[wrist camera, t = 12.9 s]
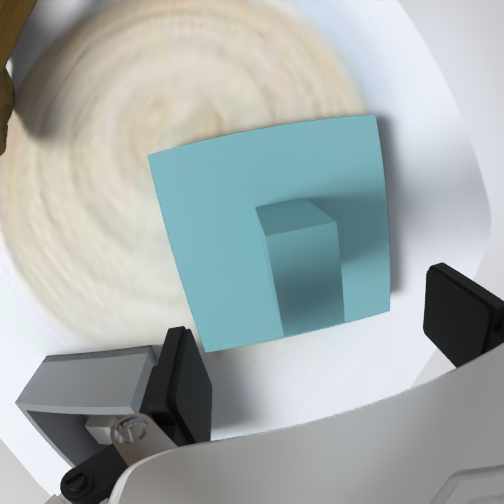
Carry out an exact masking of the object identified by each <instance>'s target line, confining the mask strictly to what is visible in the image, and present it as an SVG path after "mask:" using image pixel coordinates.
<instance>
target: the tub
mask: <svg viewBox="0 0 504 504" xmlns="http://www.w3.org/2000/svg"><path fill="white" fill-rule="evenodd" d="M154 365H158V360H157V358H156V356H155V354H154V352H153V349H152V347H151V345H150V346H143V347H135V348H127V349H119V350H110V351H101V352H92V353H81V354H70V355H57V356H46V358H45V359H44V361H43V362H42V363H41V365H40V366H39V368H38V369H37V371H36V372H35V373H34V375H33V376H32V378H31V379H30V381H29V382H28V384H27V385H26V387H25V388H24V390H23V391H22V393H21V394H20V396H19V397H18V399H17V401H16V402H15V403H16V405H17V406H18V407H19V408H20V410H21V411H22V412H23V414H24V415H25V416H26V417H27V419H28V420H29V421H30V422H31V424H32V425H33V426H34V427H35V428H36V430H37V431H38V432H39V433H40V434H41V435H42V437H43V438H44V439H45V440H46V441H47V442H48V443H49V444H50V445H51V447H52V448H53V449H54V450H55V451H56V452H57V453H58V454H59V455H60V456H61V457H62V458H63V459H64V460H65V461H66V462H67V463H68V464H69V465H70V466H71V467H72V468H74V467H76V466H77V465H79V464H81V463H82V462H84V461H85V460H87V459H89V458H90V457H92V456H93V455H95V454H96V453H98V452H99V451H101V450H103V449H104V448H106V447H107V446H109V445H110V444H112V441H111V438H110V431H111V428H112V426H113V425H114V424H115V422H116V421H118V420H119V419H120V418H122V417H124V416H126V415H128V414H133V413H139V410H140V407H141V403H142V400H143V396H144V393H145V390H146V386H147V383H148V380H149V376H150V373H151V370H152V368H153V366H154Z"/></svg>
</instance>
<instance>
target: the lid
mask: <svg viewBox="0 0 504 504" xmlns="http://www.w3.org/2000/svg"><path fill="white" fill-rule="evenodd" d="M148 160H149V164H150V168H151V173H152V177H153V181H154V185H155V189H156V193H157V197H158V201H159V205H160V209H161V212H162V216H163V220H164V223H165V227H166V231H167V234H168V238H169V241H170V245H171V248H172V252H173V255H174V259H175V262H176V265H177V269H178V272H179V275H180V278H181V282H182V285H183V288H184V291H185V294H186V297H187V300H188V304H189V307H190V310H191V313H192V316H193V319H194V322H195V324H196V327H197V330H198V333H199V336H200V339H201V342H202V345H203V347H204V350H205V353H206V352H213V351H219V350H225V349H230V348H236V347H241V346H247V345H252V344H257V343H262V342H267V341H272V340H277V339H282V338H286V337H291V336H295V335H300V334H304V333H308V332H313V331H317V330H321V329H325V328H329V327H333V326H337V325H341V324H345V323H348V322H352V321H356V320H359V319H363V318H367V317H370V316H374V315H377V314H381V313H384V312H387V311H390V246H389V225H388V210H387V198H386V187H385V178H384V169H383V161H382V153H381V146H380V139H379V133H378V127H377V121H376V115H361V116H350V117H339V118H330V119H322V120H314V121H306V122H299V123H292V124H285V125H279V126H273V127H267V128H261V129H256V130H251V131H245V132H240V133H235V134H230V135H226V136H221V137H217V138H212V139H208V140H203V141H199V142H195V143H191V144H187V145H183V146H179V147H175V148H172V149H168V150H164V151H161V152H157V153H153V154H150V155H148Z"/></svg>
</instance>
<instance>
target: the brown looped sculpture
mask: <svg viewBox="0 0 504 504" xmlns="http://www.w3.org/2000/svg"><path fill="white" fill-rule="evenodd" d="M36 2H37V0H0V156H1V155H2V154H3V153H4V152H5V150H6V138H7V131H8V125H7V123H8V120H9V119H10V117H11V114H12V111H13V107H14V98H15V93H14V88H13V84H12V80H11V78H10V76H9V73H8V71H7V69H6V64H7V61H8V59H9V58H10V56H11V53H12V51H13V48H14V46H15V44H16V41H17V39H18V37H19V34H20V32H21V30H22V28H23V26H24V24H25V22H26V20H27V18H28V16H29V15H30V13H31V11H32V9H33V8H34V6H35V4H36Z"/></svg>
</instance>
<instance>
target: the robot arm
mask: <svg viewBox="0 0 504 504" xmlns="http://www.w3.org/2000/svg"><path fill="white" fill-rule="evenodd" d="M423 330H424V333H425V335H426V336H427V337H428V338H429V339H430V340H431V341H432V342H433V343H434V344H435V345H436V346H437V347H438V348H439V349H440V350H441V352H442V353H443V354H444V355H445V356H446V357H447V358H448V359H449V360H450V361H451V362H452V363H453V364H454V366H455V367H456V369H454V370H452V371H449V372H447V373H445V374H443V375H441V376H439V377H436V378H434V379H432V380H430V381H428V382H425V383H423V384H420V385H418V386H416V387H413V388H411V389H408V390H406V391H403V392H401V393H398V394H396V395H393V396H390V397H388V398H385V399H382V400H379V401H377V402H374V403H371V404H368V405H365V406H362V407H359V408H356V409H352V410H349V411H346V412H343V413H340V414H336V415H333V416H329V417H326V418H322V419H318V420H314V421H311V422H307V423H303V424H298V425H294V426H290V427H285V428H281V429H276V430H271V431H266V432H261V433H255V434H250V435H244V436H238V437H233V438H227V439H221V440H215V441H210V438H211V410H212V385H211V382H210V379H209V377H208V374H207V372H206V369H205V367H204V364H203V361H202V359H201V356H200V353H199V351H198V348H197V345H196V343H195V340H194V337H193V334H192V332H191V330H190V329H186V328H185V327H184V326H181V327H175V328H169V329H168V332H167V335H166V338H165V341H164V345H163V348H162V351H161V355H160V358H159V361H158V365H154V366H153V368H152V370H151V373H150V376H149V380H148V383H147V386H146V390H145V393H144V396H143V400H142V403H141V407H140V410H139V413H133V414H128V415H126V416H124V417H122V418H120V419H119V420H118V421H116V422H115V424H114V425H113V426H112V428H111V431H110V438H111V441H112V444H110V445H109V446H107V447H106V448H104V449H103V450H101V451H99V452H98V453H96V454H95V455H93V456H92V457H90V458H89V459H87V460H85V461H84V462H82V463H81V464H79V465H77V466H76V467H74V468H72V469H71V470H69V471H68V472H67V473H66V474H65V475H64V477H63V478H62V481H61V484H60V489H61V492H62V493H61V494H60V495H59V496H56V495H55V494H54V495H53V496H52V497H51V498H50V499H49V500H48V501H47V502H46V503H45V504H504V301H503V300H501V299H500V298H498V297H497V296H495V295H494V294H492V293H491V292H489V291H488V290H486V289H485V288H483V287H482V286H480V285H478V284H477V283H475V282H474V281H472V280H471V279H469V278H468V277H466V276H464V275H463V274H461V273H460V272H458V271H456V270H455V269H453V268H451V267H450V266H448V265H446V264H445V263H439V264H436V265H432V266H430V268H429V270H428V271H427V273H426V293H425V309H424V322H423Z"/></svg>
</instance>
